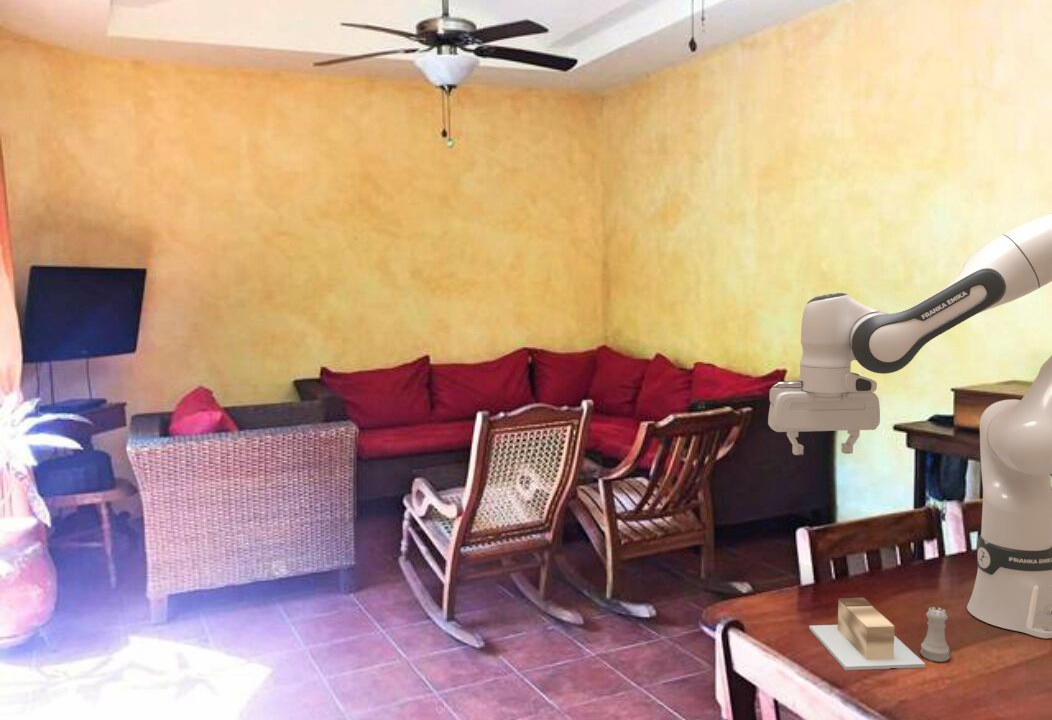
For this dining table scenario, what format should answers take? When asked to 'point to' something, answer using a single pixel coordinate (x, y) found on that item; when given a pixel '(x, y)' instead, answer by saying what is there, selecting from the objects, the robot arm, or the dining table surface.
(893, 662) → the rubber mat
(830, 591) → the dining table surface
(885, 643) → the maple block
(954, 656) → the dining table surface
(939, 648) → the rook chess piece
